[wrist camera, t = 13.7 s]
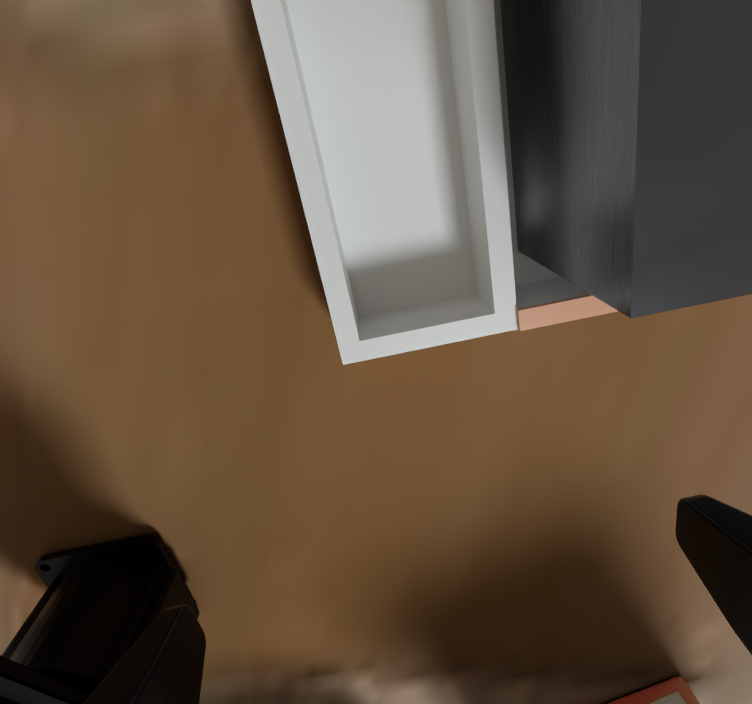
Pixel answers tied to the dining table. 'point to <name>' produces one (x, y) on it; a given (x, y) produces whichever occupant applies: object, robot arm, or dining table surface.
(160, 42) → the dining table surface
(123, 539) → the robot arm
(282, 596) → the dining table surface
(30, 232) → the dining table surface
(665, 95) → the panel
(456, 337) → the slot rack
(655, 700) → the cracker box
